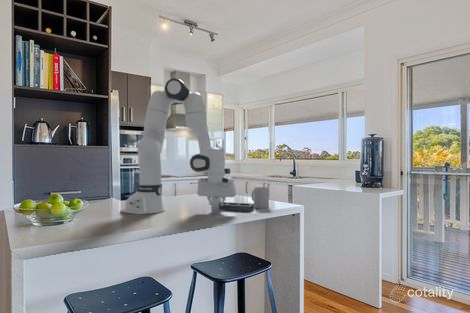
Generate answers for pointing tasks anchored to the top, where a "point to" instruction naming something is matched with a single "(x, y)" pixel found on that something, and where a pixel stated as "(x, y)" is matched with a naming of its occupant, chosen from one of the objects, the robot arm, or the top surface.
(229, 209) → the black compartment tray
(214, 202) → the steel block
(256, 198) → the mug
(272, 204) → the top surface
